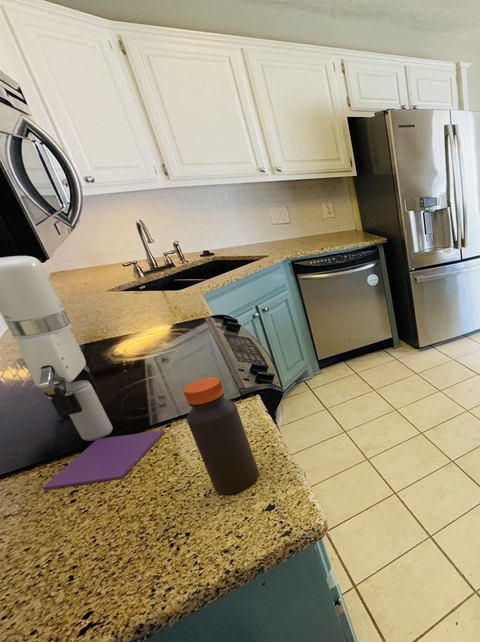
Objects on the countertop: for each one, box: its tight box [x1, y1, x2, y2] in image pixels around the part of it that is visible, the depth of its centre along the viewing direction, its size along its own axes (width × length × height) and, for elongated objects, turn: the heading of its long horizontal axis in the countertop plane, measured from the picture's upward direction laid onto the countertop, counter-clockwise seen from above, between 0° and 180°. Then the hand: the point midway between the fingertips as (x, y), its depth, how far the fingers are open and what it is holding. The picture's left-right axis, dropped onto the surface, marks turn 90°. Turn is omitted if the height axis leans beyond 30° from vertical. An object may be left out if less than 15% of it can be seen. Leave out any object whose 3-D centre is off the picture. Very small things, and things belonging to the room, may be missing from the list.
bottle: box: [182, 377, 260, 496], centre depth 69 cm, size 7×7×20 cm
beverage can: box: [59, 380, 113, 442], centre depth 84 cm, size 5×5×12 cm
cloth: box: [42, 430, 165, 491], centre depth 79 cm, size 12×14×1 cm
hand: (79, 401), depth 83 cm, fingers open, 9 cm apart
